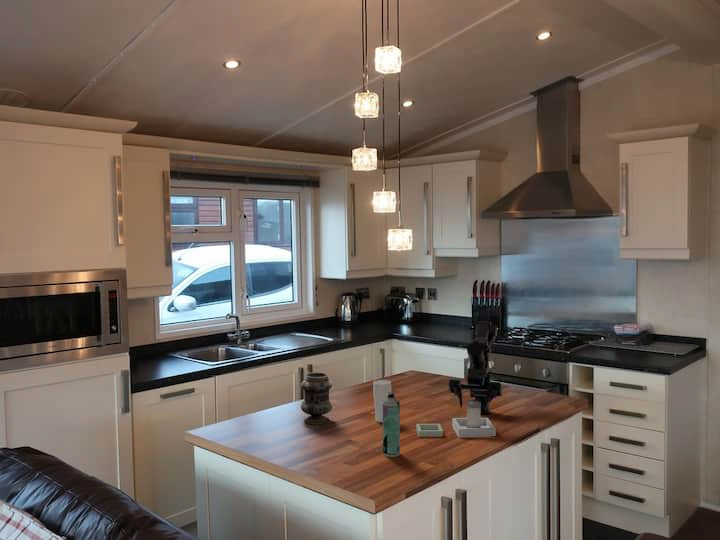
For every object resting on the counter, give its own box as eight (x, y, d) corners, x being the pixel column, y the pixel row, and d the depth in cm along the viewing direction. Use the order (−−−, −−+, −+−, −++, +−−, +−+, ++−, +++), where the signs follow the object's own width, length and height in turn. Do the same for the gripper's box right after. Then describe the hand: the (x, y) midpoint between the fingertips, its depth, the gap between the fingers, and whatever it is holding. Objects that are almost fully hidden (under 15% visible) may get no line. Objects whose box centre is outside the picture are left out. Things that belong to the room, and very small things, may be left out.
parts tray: (452, 426, 230) (452, 418, 230) (487, 425, 231) (487, 417, 230) (458, 437, 217) (458, 429, 217) (495, 437, 218) (495, 428, 217)
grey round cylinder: (463, 428, 225) (463, 400, 224) (474, 426, 227) (475, 399, 227) (472, 432, 221) (472, 404, 220) (483, 430, 223) (483, 402, 222)
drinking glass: (370, 419, 239) (370, 380, 238) (387, 417, 242) (386, 379, 241) (377, 424, 233) (377, 384, 232) (394, 422, 235) (394, 383, 235)
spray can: (398, 451, 204) (398, 390, 203) (400, 457, 199) (400, 395, 198) (382, 451, 204) (382, 391, 203) (383, 457, 199) (383, 395, 197)
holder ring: (416, 429, 227) (416, 423, 227) (439, 429, 227) (439, 423, 227) (418, 436, 218) (418, 431, 218) (443, 436, 218) (443, 431, 218)
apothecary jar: (328, 426, 231) (327, 378, 230) (296, 424, 233) (296, 377, 232) (335, 417, 243) (335, 371, 242) (306, 415, 245) (305, 370, 244)
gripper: (449, 357, 229) (444, 394, 219) (501, 360, 223) (498, 398, 214) (452, 374, 237) (447, 410, 227) (502, 377, 231) (500, 414, 222)
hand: (473, 408), depth 222 cm, fingers open, 8 cm apart
